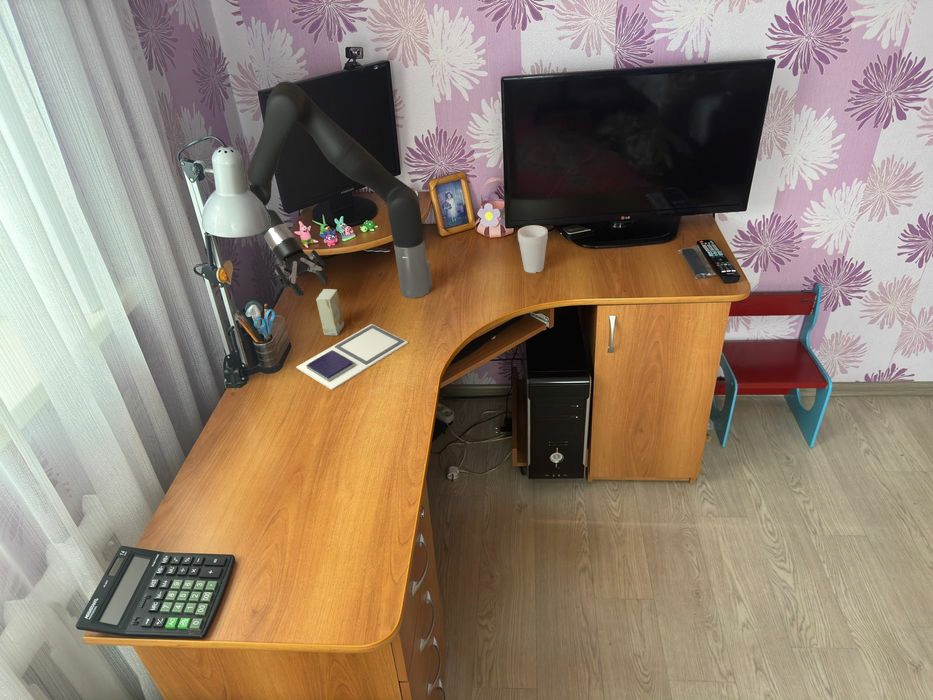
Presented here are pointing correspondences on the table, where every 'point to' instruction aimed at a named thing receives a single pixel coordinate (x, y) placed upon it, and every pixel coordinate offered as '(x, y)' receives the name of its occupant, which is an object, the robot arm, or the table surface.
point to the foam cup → (533, 247)
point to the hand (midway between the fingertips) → (314, 289)
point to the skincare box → (330, 312)
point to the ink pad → (330, 365)
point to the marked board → (358, 353)
